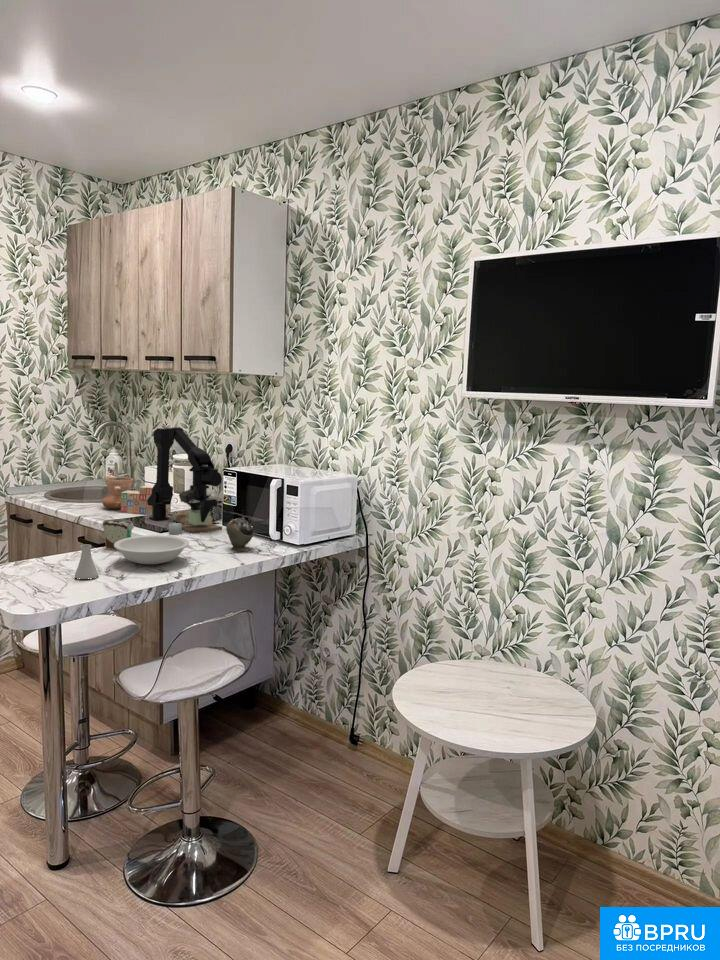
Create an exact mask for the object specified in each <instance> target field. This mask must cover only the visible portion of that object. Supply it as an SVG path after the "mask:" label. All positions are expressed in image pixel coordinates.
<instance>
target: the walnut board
mask: <svg viewBox="0 0 720 960" xmlns="http://www.w3.org/2000/svg"><path fill="white" fill-rule="evenodd" d="M183 530H184V531H183ZM222 530H223V527H222V526H221V525H217V524H214V523H213V522H212V523H209V524H200V525H193V524H190V523H186V524H182V531H183V532H185V531H186V533H188V532H189V533H188V534H191V533H192V534H191V535H193V533H194V534H200V532H201V533H206V532H208V531H209V532H214V531H215V532H216V531H222Z"/></svg>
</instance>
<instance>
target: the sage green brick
mask: <svg viewBox="0 0 720 960" xmlns="http://www.w3.org/2000/svg"><path fill="white" fill-rule="evenodd" d="M188 511H189V521H188V524H193V525H200V524H209V523H210V517H211V510H210V511H209V513H208V515H207V517H206V519H205V521H204V522H201V513H200V510H193V511H192V510H188Z"/></svg>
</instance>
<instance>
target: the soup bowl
mask: <svg viewBox="0 0 720 960" xmlns="http://www.w3.org/2000/svg"><path fill="white" fill-rule="evenodd" d="M189 545H190V541H189V540H188V539H186V538H183V537H180V536H176V535H163V534H161V535H160V534H155V535H154V534H152V535H137V536H136V535H135V536H131V537H130V538H125V539H122V540H119V541H117V542H115V544H114V547H115V548H116V549H118V550H120V551H119V552H120V554H121V555H122V556H123V557H124V558H126V560H129V561H130V562H132V563H136V564H140V565H160V564H164V563H168V562H171V561H173V560H175V559H176V558H177V557H179V555H180V554H182V552H183V550H184V549H185V548H187V547H188V546H189ZM118 550H117V551H118Z"/></svg>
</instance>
